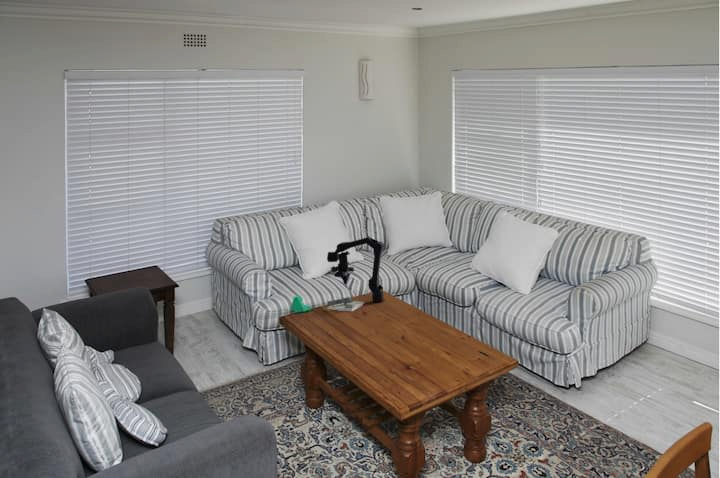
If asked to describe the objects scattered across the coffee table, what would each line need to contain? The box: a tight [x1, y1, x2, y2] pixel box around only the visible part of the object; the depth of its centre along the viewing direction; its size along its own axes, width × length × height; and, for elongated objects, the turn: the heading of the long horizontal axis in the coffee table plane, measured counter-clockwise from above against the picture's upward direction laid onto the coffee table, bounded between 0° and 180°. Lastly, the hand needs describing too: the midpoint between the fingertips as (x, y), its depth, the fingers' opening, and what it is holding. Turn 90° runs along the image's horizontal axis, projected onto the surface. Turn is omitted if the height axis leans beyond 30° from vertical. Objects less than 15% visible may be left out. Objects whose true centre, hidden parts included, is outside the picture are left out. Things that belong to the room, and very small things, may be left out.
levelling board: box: [326, 300, 365, 312], centre depth 388 cm, size 18×18×4 cm
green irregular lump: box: [290, 295, 312, 313], centre depth 389 cm, size 12×8×10 cm, turn 51°
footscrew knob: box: [327, 296, 353, 307], centre depth 387 cm, size 17×6×4 cm, turn 115°
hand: (345, 284), depth 401 cm, fingers closed
